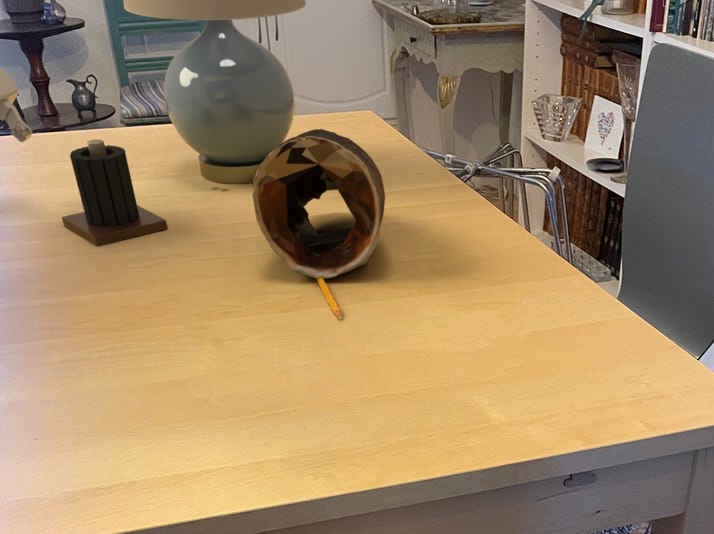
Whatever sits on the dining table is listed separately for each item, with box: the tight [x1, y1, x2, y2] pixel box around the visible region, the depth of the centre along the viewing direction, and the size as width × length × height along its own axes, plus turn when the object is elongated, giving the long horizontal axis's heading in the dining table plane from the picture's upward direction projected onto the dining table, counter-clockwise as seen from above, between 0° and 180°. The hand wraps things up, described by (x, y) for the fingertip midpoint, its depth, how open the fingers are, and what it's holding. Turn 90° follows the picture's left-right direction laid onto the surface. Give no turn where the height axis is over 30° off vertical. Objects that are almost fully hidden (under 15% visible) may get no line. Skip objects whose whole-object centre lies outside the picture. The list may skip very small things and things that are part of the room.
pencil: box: [315, 278, 342, 320], centre depth 108 cm, size 1×13×1 cm, turn 18°
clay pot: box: [252, 128, 386, 279], centre depth 118 cm, size 15×15×25 cm
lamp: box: [122, 0, 307, 185], centre depth 131 cm, size 25×25×39 cm
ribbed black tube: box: [69, 144, 139, 226], centre depth 122 cm, size 7×7×8 cm
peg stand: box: [61, 138, 168, 247], centre depth 122 cm, size 10×10×10 cm
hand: (9, 147), depth 119 cm, fingers open, 8 cm apart
